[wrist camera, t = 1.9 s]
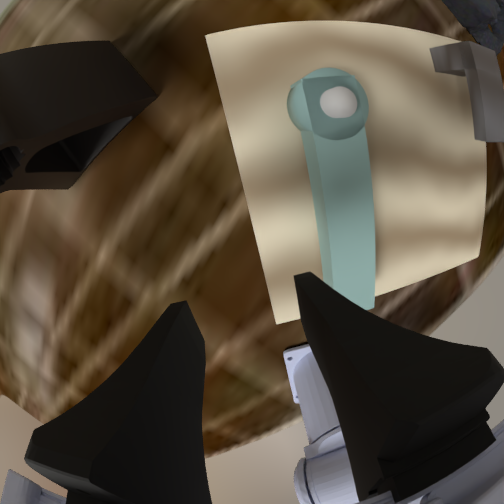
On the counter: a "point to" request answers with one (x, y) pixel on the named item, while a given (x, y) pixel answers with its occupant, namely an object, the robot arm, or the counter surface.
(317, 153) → the link
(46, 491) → the robot arm
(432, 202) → the keeper board
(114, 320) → the counter surface
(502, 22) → the dark grey cloth
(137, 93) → the phone stand
